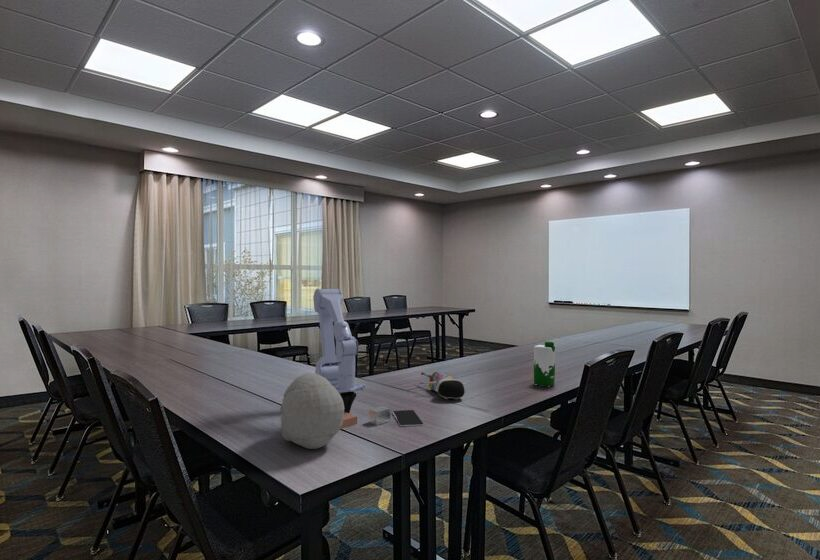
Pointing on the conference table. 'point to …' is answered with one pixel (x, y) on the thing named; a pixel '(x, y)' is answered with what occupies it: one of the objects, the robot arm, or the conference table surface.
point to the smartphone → (407, 418)
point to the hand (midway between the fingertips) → (346, 414)
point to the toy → (445, 385)
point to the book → (349, 420)
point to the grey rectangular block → (379, 415)
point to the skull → (311, 411)
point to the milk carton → (544, 364)
